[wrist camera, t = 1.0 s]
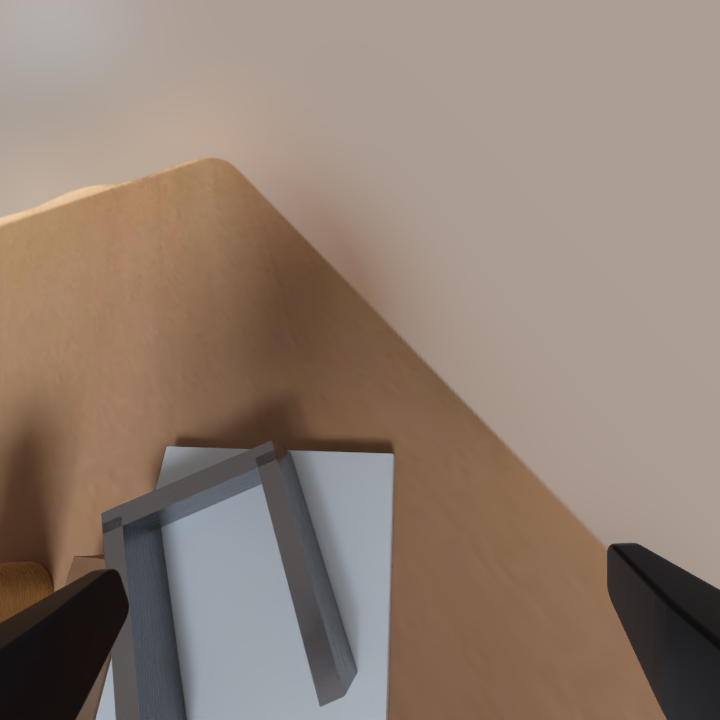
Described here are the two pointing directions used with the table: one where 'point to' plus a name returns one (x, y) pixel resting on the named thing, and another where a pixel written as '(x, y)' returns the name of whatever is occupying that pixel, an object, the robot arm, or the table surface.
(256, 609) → the door panel
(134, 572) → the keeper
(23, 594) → the gold cylinder
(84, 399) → the table surface
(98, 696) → the strip
